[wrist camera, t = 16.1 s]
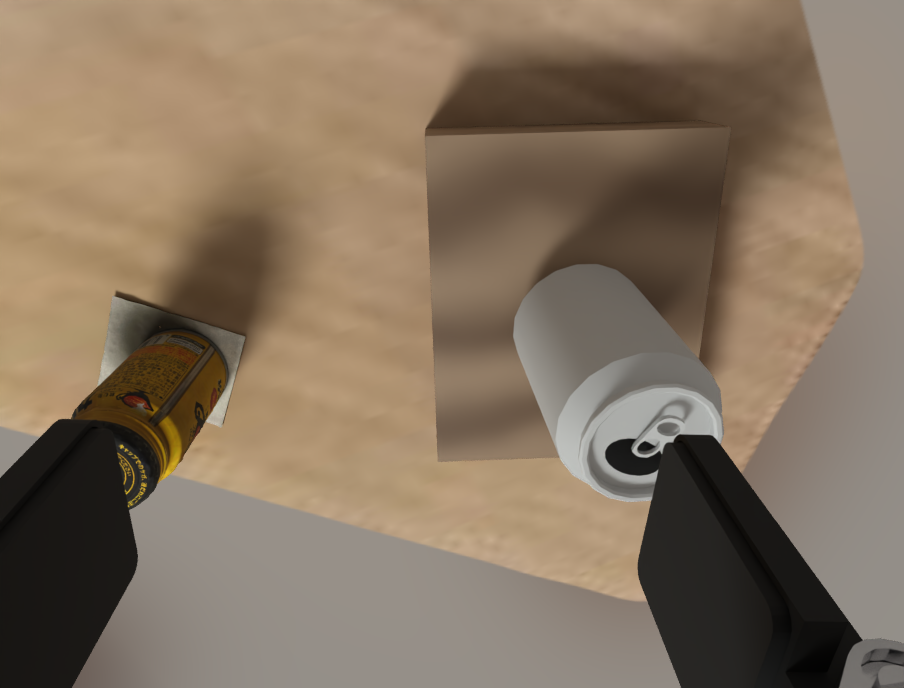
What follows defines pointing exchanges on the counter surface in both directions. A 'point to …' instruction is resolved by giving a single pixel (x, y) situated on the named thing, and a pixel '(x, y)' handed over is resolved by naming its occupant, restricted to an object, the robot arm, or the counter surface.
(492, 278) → the chopping block
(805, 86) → the counter surface
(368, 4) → the counter surface
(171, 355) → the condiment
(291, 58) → the counter surface
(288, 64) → the counter surface
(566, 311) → the can
